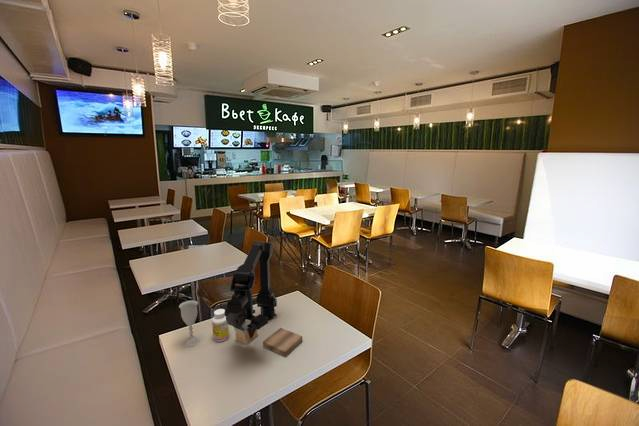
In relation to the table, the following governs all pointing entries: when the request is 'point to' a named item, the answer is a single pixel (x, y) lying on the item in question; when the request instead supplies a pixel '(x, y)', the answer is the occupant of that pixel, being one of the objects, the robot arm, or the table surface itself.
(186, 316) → the chalice
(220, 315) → the supplement bottle
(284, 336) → the walnut stand
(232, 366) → the table surface
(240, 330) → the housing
